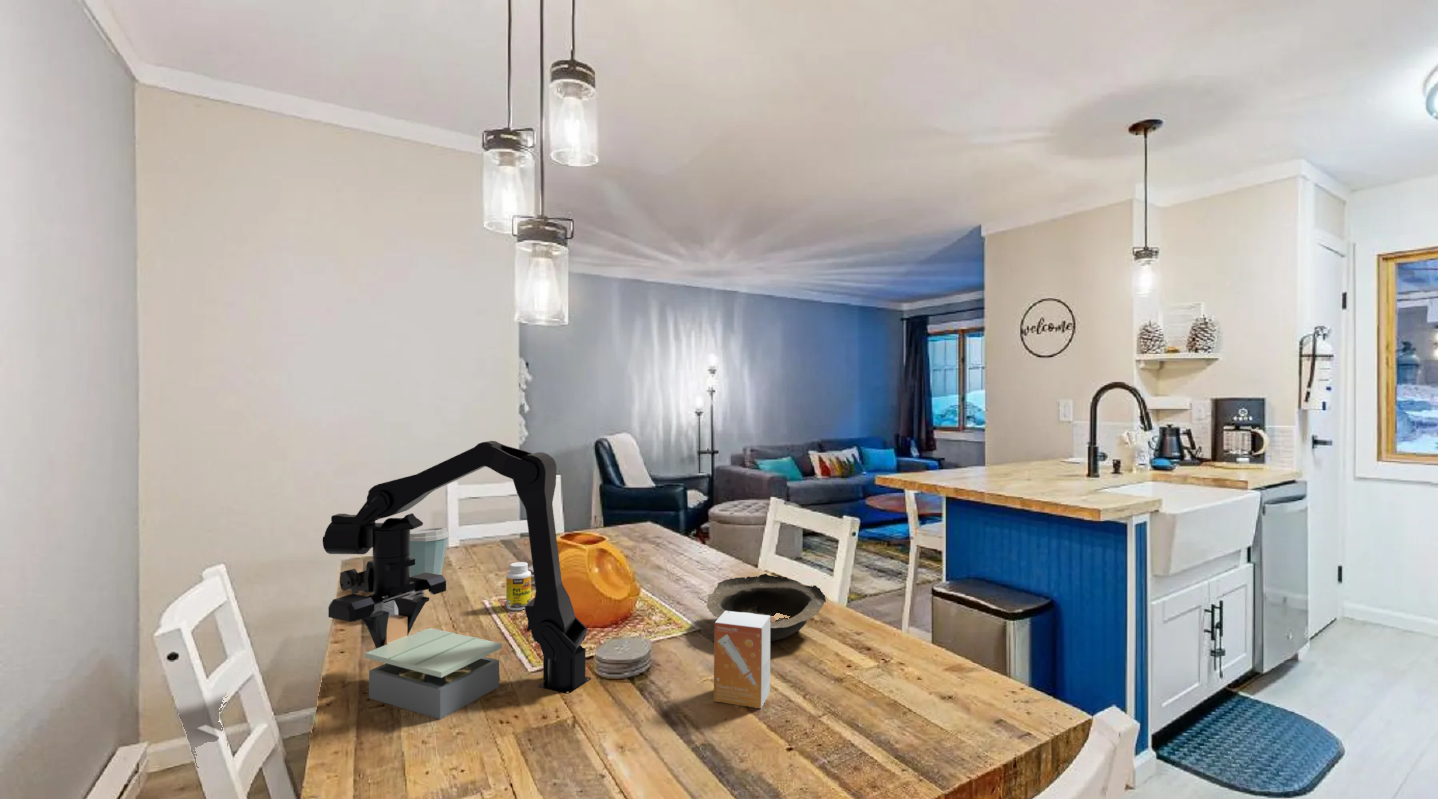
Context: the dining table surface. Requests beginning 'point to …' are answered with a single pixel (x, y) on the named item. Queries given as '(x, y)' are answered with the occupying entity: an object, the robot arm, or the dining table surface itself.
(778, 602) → the stone bowl
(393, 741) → the dining table surface
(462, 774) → the dining table surface
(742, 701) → the small box
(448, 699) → the tub
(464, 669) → the brass part
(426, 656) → the lid
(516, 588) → the supplement bottle
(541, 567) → the robot arm
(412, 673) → the brass part
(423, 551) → the disposable coffee cup
